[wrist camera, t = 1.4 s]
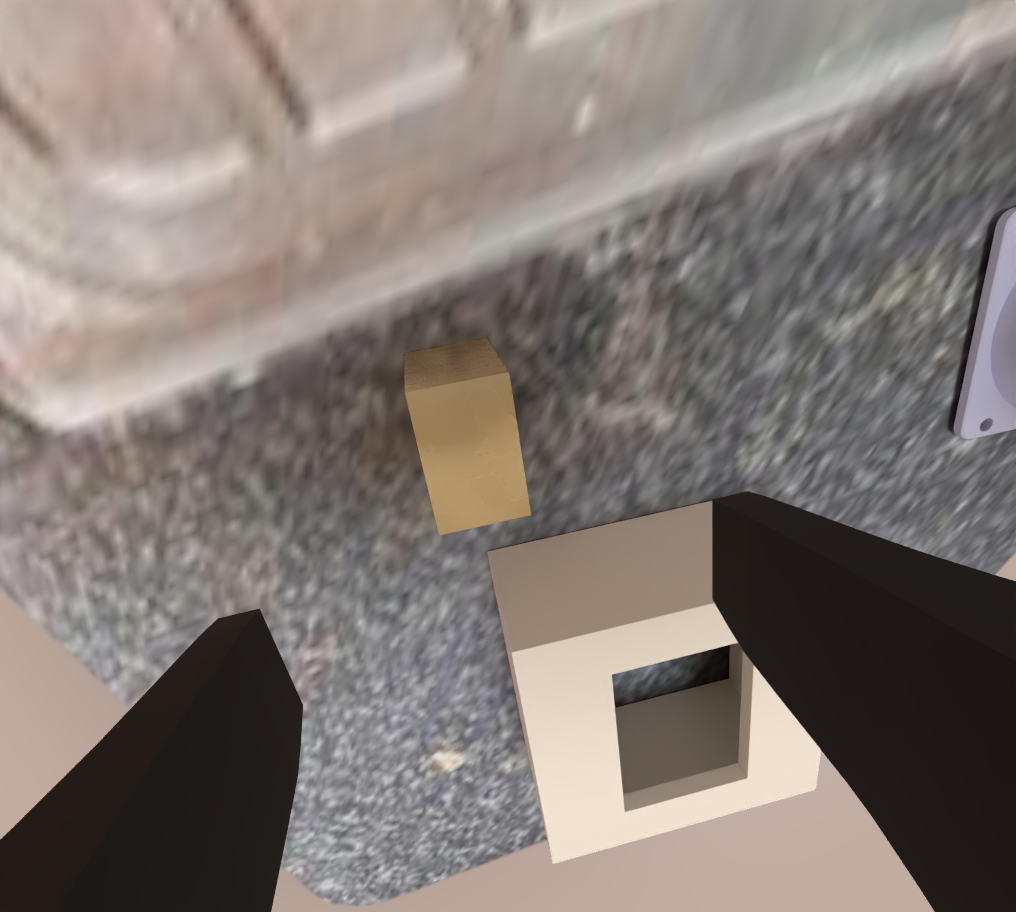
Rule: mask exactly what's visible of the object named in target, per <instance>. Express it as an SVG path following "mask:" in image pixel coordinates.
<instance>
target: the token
mask: <svg viewBox="0 0 1016 912" xmlns="http://www.w3.org/2000/svg"><path fill="white" fill-rule="evenodd" d="M404 371H405V396H406V400H407V404H408V408H409V412H410V417H411V421H412V425H413V429H414V433H415V437H416V442H417V446H418V450H419V454H420V458H421V462H422V467H423V471H424V475H425V479H426V483H427V487H428V491H429V496H430V500H431V504H432V508H433V512H434V516H435V521H436V525H437V529H438V533H439V535H444V534H448V533H453V532H457V531H462V530H466V529H471V528H475V527H480V526H484V525H489V524H493V523H498V522H502V521H507V520H511V519H516V518H520V517H525V516H529V515H531V512H530V505H529V498H528V492H527V485H526V479H525V472H524V466H523V459H522V453H521V446H520V440H519V433H518V426H517V420H516V413H515V407H514V400H513V394H512V387H511V381H510V374H509V371H508V370H507V368H506V367H505V365H504V364H503V362H502V360H501V359H500V357H499V356H498V354H497V353H496V351H495V350H494V348H493V347H492V345H491V344H490V342H489V341H488V339H487V338H482V339H476V340H471V341H466V342H460V343H455V344H450V345H445V346H439V347H434V348H429V349H423V350H418V351H413V352H408V353H404Z"/></svg>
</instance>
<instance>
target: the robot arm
mask: <svg viewBox="0 0 1016 912" xmlns="http://www.w3.org/2000/svg"><path fill="white" fill-rule="evenodd" d="M1014 429H1016V207H1015V208H1011V209H1009V210H1007V211H1006V212H1005V213H1004V214H1002V216H1001V217H1000V219H999V220H998V222H997V225H996V228H995V233H994V237H993V242H992V247H991V252H990V256H989V261H988V266H987V271H986V275H985V280H984V285H983V290H982V294H981V299H980V304H979V309H978V313H977V318H976V323H975V328H974V332H973V337H972V342H971V347H970V351H969V356H968V361H967V365H966V370H965V375H964V380H963V384H962V389H961V394H960V399H959V403H958V408H957V413H956V418H955V422H954V433H955V435H957V436H959V437H961V438H964V439H974V438H978V437H983V436H987V435H992V434H996V433H1001V432H1005V431H1009V430H1014ZM712 600H713V602H714V603H715V605H716V607H717V608H718V610H719V612H720V613H721V615H722V617H723V619H724V620H725V622H726V624H727V625H728V627H729V629H730V630H731V632H732V634H733V635H734V637H735V638H736V640H737V642H738V643H739V645H740V646H741V648H742V650H743V651H744V653H745V654H746V656H747V657H748V658H749V659H750V661H751V662H752V663H753V665H754V666H755V667H756V669H757V670H758V671H759V672H760V674H761V675H762V676H763V677H764V679H765V680H766V681H767V683H768V684H769V685H770V686H771V688H772V689H773V690H774V692H775V693H776V694H777V695H778V697H779V698H780V699H781V700H782V702H783V703H784V704H785V705H786V707H787V708H788V709H789V710H790V712H791V713H792V714H793V715H794V717H795V718H796V719H797V720H798V722H799V723H800V724H801V725H802V727H803V728H804V729H805V730H806V732H807V733H808V734H809V736H810V737H811V738H812V739H813V741H814V742H815V743H816V744H817V746H818V747H819V748H820V749H821V751H822V752H823V753H824V754H825V756H826V757H827V758H828V759H829V761H830V762H831V763H832V764H833V766H834V767H835V768H836V769H837V770H838V772H839V773H840V774H841V776H842V777H843V778H844V779H845V781H846V782H847V783H848V785H849V786H850V787H851V789H852V790H853V791H854V793H855V794H856V795H857V797H858V798H859V800H860V801H861V802H862V804H863V805H864V806H865V808H866V809H867V810H868V812H869V813H870V814H871V816H872V817H873V819H874V820H875V822H876V823H877V825H878V826H879V828H880V829H881V831H882V832H883V834H884V835H885V837H886V838H887V840H888V841H889V843H890V844H891V845H892V847H893V849H894V850H895V852H896V853H897V855H898V856H899V858H900V859H901V860H902V862H903V864H904V865H905V867H906V868H907V870H908V871H909V873H910V874H911V876H912V877H913V879H914V880H915V882H916V883H917V885H918V886H919V888H920V889H921V891H922V892H923V894H924V896H925V897H926V899H927V900H928V902H929V903H930V905H931V906H932V908H933V910H934V911H935V912H1016V581H1013V580H1009V579H1006V578H1002V577H999V576H996V575H992V574H989V573H986V572H983V571H980V570H976V569H973V568H970V567H967V566H964V565H961V564H957V563H954V562H951V561H948V560H945V559H941V558H938V557H935V556H932V555H929V554H926V553H923V552H920V551H917V550H914V549H911V548H908V547H905V546H903V545H900V544H897V543H894V542H891V541H888V540H885V539H882V538H880V537H877V536H874V535H871V534H869V533H866V532H863V531H860V530H857V529H855V528H852V527H849V526H846V525H844V524H841V523H838V522H835V521H833V520H830V519H827V518H825V517H822V516H819V515H816V514H814V513H811V512H808V511H805V510H803V509H800V508H797V507H794V506H792V505H789V504H786V503H783V502H780V501H777V500H774V499H771V498H768V497H765V496H762V495H758V494H755V493H751V492H748V491H747V492H743V493H739V494H735V495H731V496H727V497H722V498H718V499H714V500H712ZM302 714H303V704H302V702H301V700H300V697H299V695H298V693H297V691H296V689H295V686H294V684H293V682H292V680H291V678H290V675H289V673H288V671H287V669H286V666H285V664H284V662H283V660H282V658H281V655H280V653H279V651H278V649H277V647H276V644H275V642H274V640H273V638H272V635H271V633H270V631H269V629H268V627H267V624H266V622H265V620H264V618H263V615H262V613H261V611H260V609H256V610H252V611H248V612H244V613H239V614H235V615H231V616H227V617H223V618H219V619H217V620H216V621H215V622H214V623H213V624H212V625H211V626H210V627H208V628H207V629H206V630H205V631H204V632H203V633H202V634H201V635H200V636H199V637H198V638H197V639H196V640H195V641H194V642H193V644H192V645H191V646H190V647H189V648H188V649H187V650H186V651H185V652H184V653H183V654H182V655H181V656H180V657H179V658H178V659H177V660H176V661H175V662H174V663H173V665H172V666H171V667H170V668H169V669H168V670H167V671H166V672H165V673H164V674H163V675H162V676H161V677H160V678H159V679H158V681H157V682H156V683H155V684H154V685H153V686H152V687H151V688H150V689H149V690H148V691H147V692H146V693H145V694H144V695H143V696H142V697H141V699H140V700H139V701H138V702H137V703H136V704H135V705H134V706H133V707H132V708H131V709H130V710H129V711H128V712H127V713H126V714H125V715H124V716H123V718H122V719H121V720H120V721H119V722H118V723H117V724H116V725H115V726H114V727H113V728H112V729H111V730H110V731H109V732H108V733H107V734H106V735H105V737H104V738H103V739H102V740H101V741H100V742H99V743H98V744H97V745H96V746H95V747H94V748H93V749H92V750H91V751H90V752H89V753H88V754H87V755H86V756H85V757H84V758H83V759H82V760H81V761H80V762H79V763H78V764H77V765H76V766H75V767H74V768H73V769H72V770H71V771H70V772H69V773H68V774H67V775H66V776H65V777H64V778H63V779H62V780H61V781H60V782H59V783H58V784H57V785H56V786H55V787H54V788H52V790H51V791H50V792H49V793H47V794H46V795H45V796H44V797H43V798H42V799H41V801H39V803H37V804H36V805H35V806H34V808H32V809H31V810H30V811H29V812H28V813H27V814H26V815H25V816H24V817H23V818H22V819H21V820H20V821H19V823H17V824H16V825H15V826H14V827H13V828H12V829H11V830H10V831H9V832H8V833H7V834H6V835H5V836H4V837H3V838H2V839H0V912H271V909H272V905H273V899H274V895H275V889H276V885H277V879H278V875H279V870H280V865H281V860H282V855H283V850H284V845H285V840H286V835H287V830H288V825H289V819H290V814H291V809H292V804H293V799H294V794H295V788H296V783H297V777H298V770H299V758H300V746H301V731H302Z"/></svg>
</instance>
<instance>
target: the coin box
mask: <svg viewBox="0 0 1016 912" xmlns="http://www.w3.org/2000/svg"><path fill="white" fill-rule="evenodd" d="M487 554H488V559H489V564H490V569H491V574H492V579H493V584H494V589H495V594H496V599H497V604H498V609H499V614H500V619H501V624H502V629H503V634H504V639H505V644H506V649H507V654H508V659H509V664H510V669H511V674H512V679H513V684H514V689H515V694H516V699H517V704H518V709H519V714H520V719H521V724H522V729H523V734H524V739H525V744H526V748H527V752H528V757H529V761H530V766H531V770H532V774H533V779H534V783H535V787H536V792H537V796H538V801H539V805H540V809H541V814H542V818H543V822H544V827H545V831H546V836H547V840H548V844H549V849H550V853H551V857H552V862H553V864H554V863H558V862H561V861H565V860H568V859H572V858H576V857H579V856H582V855H586V854H590V853H593V852H597V851H601V850H604V849H608V848H611V847H615V846H618V845H622V844H625V843H629V842H632V841H636V840H639V839H643V838H646V837H650V836H654V835H657V834H661V833H664V832H667V831H671V830H675V829H678V828H682V827H685V826H689V825H692V824H696V823H700V822H703V821H707V820H710V819H713V818H717V817H721V816H724V815H728V814H731V813H735V812H738V811H742V810H746V809H749V808H753V807H756V806H760V805H763V804H767V803H770V802H774V801H777V800H781V799H784V798H788V797H791V796H795V795H798V794H802V793H805V792H809V791H813V790H815V789H816V783H817V776H818V769H819V761H820V754H821V749H820V748H819V747H818V746H817V744H816V743H815V742H814V741H813V739H812V738H811V737H810V736H809V734H808V733H807V732H806V730H805V729H804V728H803V727H802V725H801V724H800V723H799V722H798V720H797V719H796V718H795V717H794V715H793V714H792V713H791V712H790V710H789V709H788V708H787V707H786V705H785V704H784V703H783V702H782V700H781V699H780V698H779V697H778V695H777V694H776V693H775V692H774V690H773V689H772V688H771V686H770V685H769V684H768V683H767V681H766V680H765V679H764V677H763V676H762V675H761V674H760V672H759V671H758V670H757V669H756V667H755V666H754V665H753V663H752V662H751V661H750V659H749V658H748V657H747V656H746V654H745V653H744V651H743V650H742V648H741V646H740V645H739V643H738V642H737V640H736V638H735V637H734V635H733V634H732V632H731V630H730V629H729V627H728V625H727V624H726V622H725V620H724V619H723V617H722V615H721V613H720V612H719V610H718V608H717V607H716V605H715V603H714V602H713V600H712V501H708V502H704V503H699V504H695V505H691V506H686V507H682V508H677V509H673V510H669V511H664V512H660V513H655V514H651V515H646V516H642V517H638V518H633V519H629V520H624V521H620V522H616V523H611V524H607V525H602V526H598V527H593V528H589V529H585V530H580V531H576V532H571V533H567V534H563V535H558V536H554V537H549V538H545V539H540V540H536V541H532V542H527V543H523V544H518V545H514V546H509V547H505V548H501V549H496V550H492V551H487ZM727 645H730V659H729V679H725V680H721V681H717V682H713V683H709V684H705V685H702V686H698V687H694V688H690V689H686V690H682V691H678V692H675V693H671V694H667V695H663V696H659V697H655V698H651V699H647V700H644V701H640V702H636V703H632V704H628V705H624V706H620V707H617V708H615V704H614V693H613V683H612V674H616V673H620V672H624V671H628V670H632V669H636V668H640V667H644V666H648V665H652V664H656V663H660V662H664V661H668V660H672V659H676V658H679V657H683V656H687V655H691V654H695V653H699V652H703V651H707V650H711V649H715V648H719V647H723V646H727Z"/></svg>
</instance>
